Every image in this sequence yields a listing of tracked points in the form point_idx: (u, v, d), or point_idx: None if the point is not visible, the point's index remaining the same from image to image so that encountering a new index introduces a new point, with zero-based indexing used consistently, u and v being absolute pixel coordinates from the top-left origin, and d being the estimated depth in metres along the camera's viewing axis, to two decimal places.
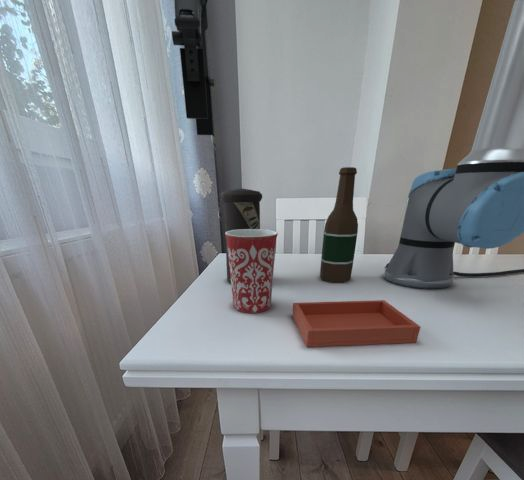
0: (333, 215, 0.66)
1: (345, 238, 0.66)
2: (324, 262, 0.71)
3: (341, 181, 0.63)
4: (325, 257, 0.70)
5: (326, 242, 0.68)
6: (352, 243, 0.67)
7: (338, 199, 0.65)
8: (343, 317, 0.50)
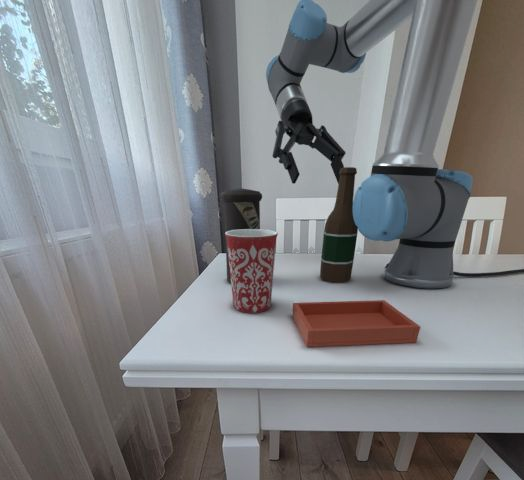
0: (333, 215, 0.66)
1: (345, 238, 0.66)
2: (324, 262, 0.71)
3: (341, 181, 0.63)
4: (325, 257, 0.70)
5: (326, 242, 0.68)
6: (352, 243, 0.67)
7: (338, 199, 0.65)
8: (343, 317, 0.50)
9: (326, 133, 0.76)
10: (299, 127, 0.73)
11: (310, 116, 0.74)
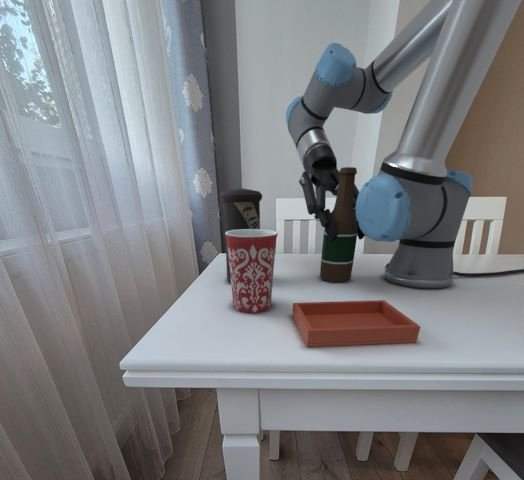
0: (333, 215, 0.66)
1: (345, 237, 0.66)
2: (324, 262, 0.71)
3: (341, 181, 0.63)
4: (325, 257, 0.70)
5: (326, 242, 0.68)
6: (352, 242, 0.67)
7: (338, 199, 0.65)
8: (343, 317, 0.50)
9: None
10: (325, 175, 0.68)
11: (335, 161, 0.69)
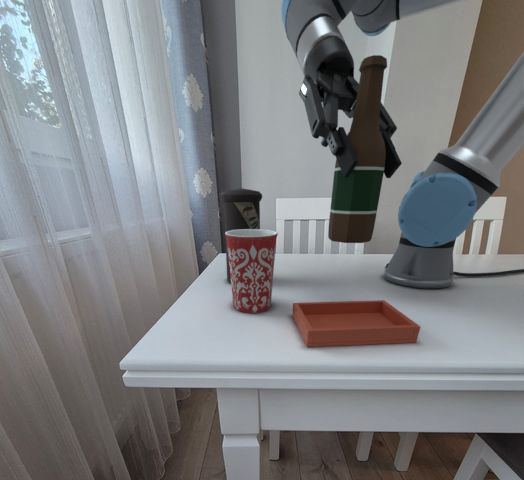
0: (349, 138, 0.44)
1: (367, 171, 0.44)
2: (335, 213, 0.49)
3: (363, 81, 0.41)
4: (336, 205, 0.48)
5: (338, 181, 0.47)
6: (376, 181, 0.46)
7: (357, 112, 0.43)
8: (343, 317, 0.50)
9: None
10: (337, 81, 0.46)
11: (351, 65, 0.48)
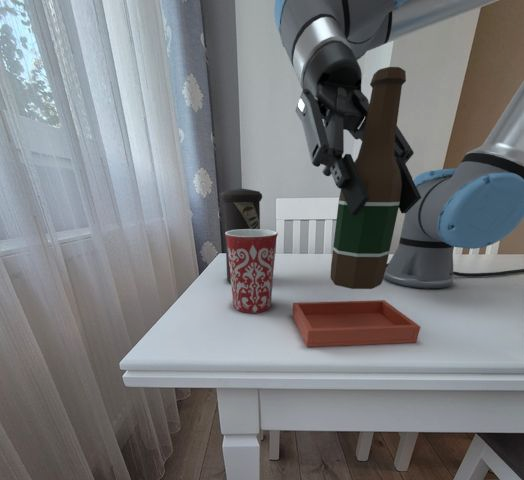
0: (358, 166, 0.36)
1: (379, 208, 0.36)
2: (339, 254, 0.41)
3: (375, 98, 0.33)
4: (341, 245, 0.40)
5: (343, 218, 0.39)
6: (390, 218, 0.38)
7: (368, 135, 0.35)
8: (343, 317, 0.50)
9: None
10: (342, 97, 0.38)
11: (359, 76, 0.39)
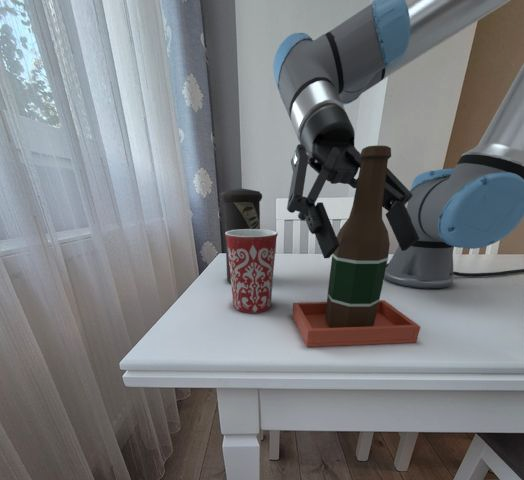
0: (349, 228, 0.39)
1: (369, 265, 0.40)
2: (333, 302, 0.44)
3: (364, 170, 0.37)
4: (334, 294, 0.43)
5: (336, 271, 0.42)
6: (379, 273, 0.41)
7: (358, 201, 0.38)
8: None
9: None
10: (334, 155, 0.41)
11: (352, 134, 0.42)
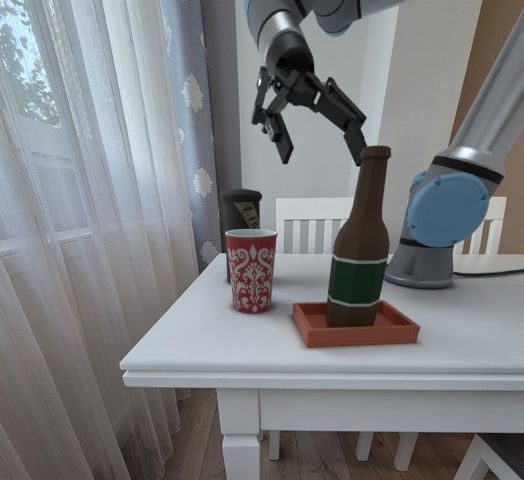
0: (349, 228, 0.39)
1: (369, 265, 0.40)
2: (333, 302, 0.44)
3: (364, 170, 0.37)
4: (334, 294, 0.43)
5: (336, 271, 0.42)
6: (379, 273, 0.41)
7: (358, 201, 0.38)
8: None
9: (336, 88, 0.49)
10: (293, 76, 0.46)
11: (311, 61, 0.47)
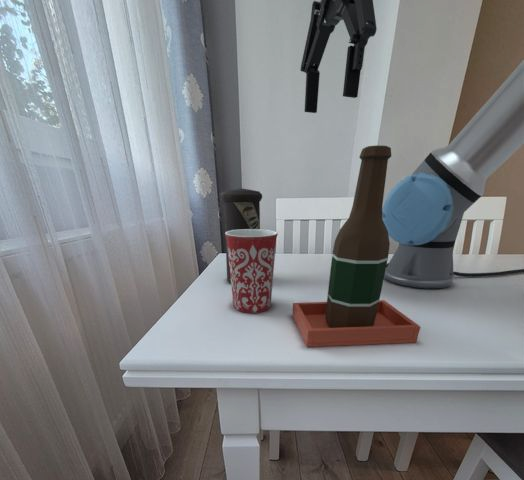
0: (349, 228, 0.39)
1: (369, 265, 0.40)
2: (333, 302, 0.44)
3: (364, 170, 0.37)
4: (334, 294, 0.43)
5: (336, 271, 0.42)
6: (379, 273, 0.41)
7: (358, 201, 0.38)
8: None
9: None
10: (322, 7, 0.53)
11: None
